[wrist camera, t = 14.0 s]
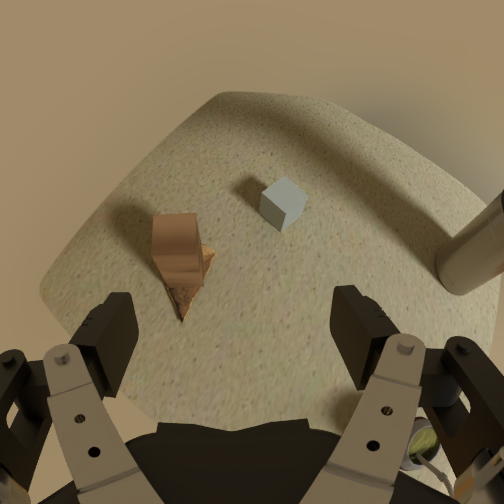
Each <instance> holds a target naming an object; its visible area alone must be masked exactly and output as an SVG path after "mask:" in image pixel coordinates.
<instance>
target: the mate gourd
mask: <svg viewBox="0 0 504 504" xmlns="http://www.w3.org/2000/svg"><path fill="white" fill-rule="evenodd" d="M440 448H441V444H440V442H439V439H438V437H437V435H436V433H435V431H434V429H433V427H432V425H431V423H430V421H429V419H426V418H424V417H415V419H414V423H413V427H412V430H411V434H410V437H409V441H408V444H407V447H406V450H405V453H404V456H403V459H402V462H401V465H400V468H399V469H401V470H405V471H413V470H418V469H421V468H423V467H424V466H426V467H427V468H428V469H429V470H431V471H432V472H433V473H434V474H435V475H436V476H437V478H438V479H439V480H440V481H441V482H443V483H444V484H445V486H446V488H447V490H448V493H449V495H450V497H452V498H453V496H454V492H453V488H452V486H451V484H450V482H449V480H448V479H447V476H446V475H445V474H444V473H443V472H440V471H439V470H438V469H436V468H435V467H434V466H433V465H432V464H430V463H431V462H432V460H433V459H434V458H435V457H436V456H437V454H438V452H439V450H440Z"/></svg>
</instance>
